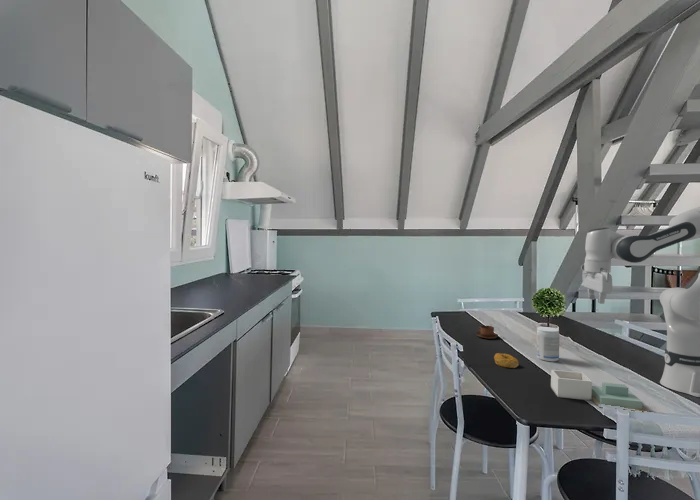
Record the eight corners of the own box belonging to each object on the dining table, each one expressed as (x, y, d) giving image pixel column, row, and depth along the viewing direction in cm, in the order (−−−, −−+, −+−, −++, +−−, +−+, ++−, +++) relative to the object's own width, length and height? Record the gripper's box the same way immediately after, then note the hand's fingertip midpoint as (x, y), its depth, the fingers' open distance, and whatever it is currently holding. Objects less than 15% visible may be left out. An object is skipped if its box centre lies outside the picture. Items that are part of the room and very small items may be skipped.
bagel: (508, 370, 161) (508, 359, 161) (489, 362, 171) (489, 352, 171) (523, 367, 165) (524, 356, 165) (504, 359, 175) (504, 350, 175)
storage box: (582, 390, 140) (582, 372, 140) (591, 400, 132) (591, 381, 131) (550, 387, 143) (551, 369, 143) (557, 396, 134) (558, 378, 134)
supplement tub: (562, 359, 175) (563, 329, 174) (552, 363, 170) (553, 332, 169) (542, 354, 183) (543, 325, 183) (532, 357, 178) (533, 328, 177)
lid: (627, 395, 135) (627, 381, 134) (642, 408, 125) (642, 393, 124) (589, 392, 138) (590, 377, 138) (601, 404, 128) (601, 389, 127)
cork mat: (629, 395, 136) (629, 394, 136) (649, 413, 122) (649, 411, 122) (584, 390, 140) (584, 389, 140) (599, 407, 126) (599, 406, 126)
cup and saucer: (472, 337, 213) (473, 327, 213) (481, 333, 222) (481, 323, 222) (493, 341, 205) (493, 330, 205) (501, 337, 214) (501, 326, 214)
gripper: (618, 270, 137) (616, 306, 137) (596, 265, 157) (595, 297, 157) (599, 269, 138) (597, 305, 139) (579, 265, 158) (578, 296, 159)
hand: (596, 301), depth 148 cm, fingers open, 8 cm apart
